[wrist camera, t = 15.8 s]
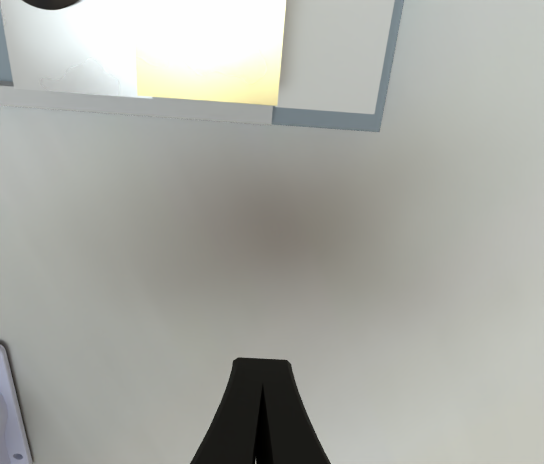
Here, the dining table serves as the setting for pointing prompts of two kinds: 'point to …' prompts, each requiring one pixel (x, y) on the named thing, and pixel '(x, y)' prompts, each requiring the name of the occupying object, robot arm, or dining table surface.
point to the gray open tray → (293, 74)
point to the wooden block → (209, 49)
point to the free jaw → (72, 46)
